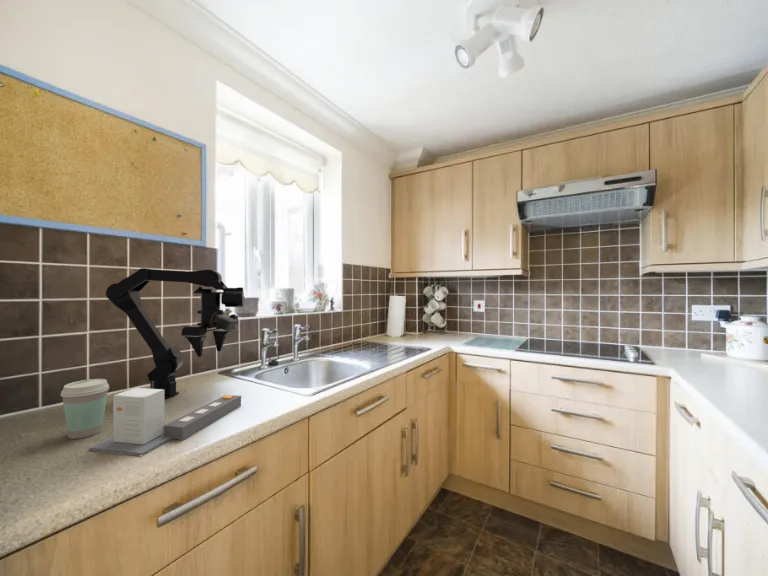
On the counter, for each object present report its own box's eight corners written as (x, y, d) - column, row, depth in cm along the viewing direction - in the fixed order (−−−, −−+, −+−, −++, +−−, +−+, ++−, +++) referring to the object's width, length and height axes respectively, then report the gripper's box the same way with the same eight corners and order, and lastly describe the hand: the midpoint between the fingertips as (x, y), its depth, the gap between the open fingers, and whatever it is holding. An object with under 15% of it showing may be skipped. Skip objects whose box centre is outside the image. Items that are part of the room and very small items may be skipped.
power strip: (163, 438, 73) (164, 423, 73) (225, 404, 95) (225, 393, 95) (182, 440, 73) (183, 425, 73) (240, 405, 94) (241, 394, 94)
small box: (165, 434, 74) (165, 389, 74) (143, 445, 69) (144, 397, 69) (135, 431, 76) (136, 387, 76) (112, 442, 70) (112, 394, 70)
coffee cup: (104, 422, 82) (105, 376, 82) (112, 432, 76) (113, 382, 76) (57, 434, 75) (58, 383, 75) (62, 445, 70) (62, 391, 70)
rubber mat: (89, 450, 68) (89, 447, 68) (136, 428, 79) (137, 425, 79) (141, 456, 66) (141, 453, 66) (183, 432, 77) (183, 430, 77)
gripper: (212, 309, 96) (212, 361, 96) (248, 306, 114) (248, 349, 114) (180, 308, 97) (179, 359, 97) (220, 305, 116) (220, 348, 116)
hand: (209, 353), depth 106 cm, fingers open, 9 cm apart
